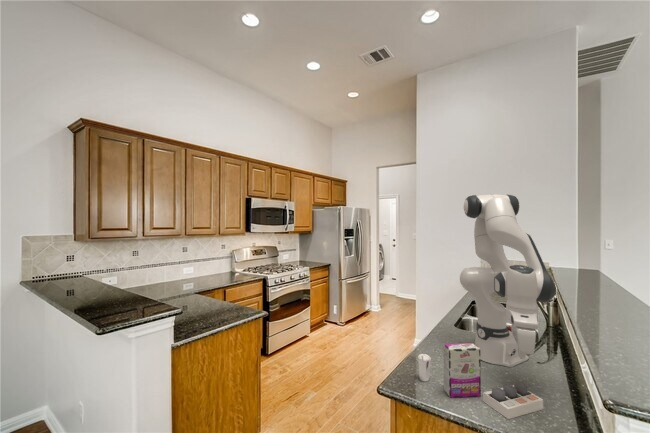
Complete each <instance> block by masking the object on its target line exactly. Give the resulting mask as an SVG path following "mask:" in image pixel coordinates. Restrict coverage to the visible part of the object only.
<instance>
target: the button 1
mask: <svg viewBox="0 0 650 433" xmlns="http://www.w3.org/2000/svg"><path fill="white" fill-rule="evenodd" d="M491 390H492V398H493V399H495V400H496V401H498V402H503V401H505V391H504V390H502V389H500V387H492V388H491Z"/></svg>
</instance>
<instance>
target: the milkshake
mask: <svg viewBox="0 0 650 433" xmlns="http://www.w3.org/2000/svg"><path fill="white" fill-rule="evenodd" d="M431 359H432V358H431V356H430V355H428V354H426V353H419V355H418V356H417V361H418V372H419V374H418V375H419V380H420V381H421V382H429V380H430V370H431V361H432V360H431Z"/></svg>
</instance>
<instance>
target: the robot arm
mask: <svg viewBox="0 0 650 433" xmlns="http://www.w3.org/2000/svg"><path fill="white" fill-rule="evenodd" d="M519 211H520V201H519V198H517V196H515V195H512V194H499V193H496V194H495V193H494V194H491V193H490V194H479V195H476V194H473V195H469V196H467V197H466V198H465V200H464V203H463V212H464V214H465V216H466V217H467V218H471V219H475V222H474V230H473V234H474V235H473V236H474V237H473V238H474V248H475V249H474V250H475V254H476V256H477V257H478V258H479V259H480V260H483V261H484V262H486V263H488V264H489V266H490V267H481V266H473V267H467V268H464V269H463V270H461V272H460V275H459V283H460V284H461V287H462V288H463V289H464V290H465V291H467V292H468V293H469V294H470V296H472V298H473V299H474V300H473V301H474V302H475V304H476V311H477V321H476V324H475V327H476V329H475V330H476V333H475V340H474V341H475V342H474V344H475V345H476V346H477V347H479V348H480V361H483V362H486V363H488V364H493V365H499V366H504V367H507V368H513V367H515V366H517V365H519V364H521V363H525V362H526V361H528V360H529V356H528V355H534V353H535V350H536V349H535V348H536V338H537V337H536V336H537V330H539V306H538V304H537V303H544V304H545V303H548V302H549V301H551V300H552V299H553V298H554V297H555V296H556V295H557V294H556V293H557V287H556V284H555V281H554V279H553V278H552V276H551V275H550V273H549V272H548V269H547V268H546V265H545V264H544V261H543V259H542V256H541V255H540V252H539V250H538V248H537V246H536V243H535V242H534V240H533V238H532V236H531V235H530V234H528V233H527V232H525V231H524V230H523V229H522V228H521V227H520V225H519V223H518V220H517V217H516V216H518V213H519ZM504 247H508V248H511V249H513V250H514V251H515V250H516V251H518V252H519V253H520V254H521V255H522V256H523V258H524V260H525V263H526V265H527V266H526V265H521V264H512V263H511V262H510V261H509V260H508V258H507V257H506V254H505V251H504V250H505V249H504ZM492 294H496V295H498V296H500V297H501V298H504V299H506V303H505V306H504V304H502V303H500V302H499V301H497V300H495V299H493V298H492ZM507 320H508V321H509V322H510V324H511V326H510V325H508V326H507ZM510 332H511V333H512V335H511V334H510Z"/></svg>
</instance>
